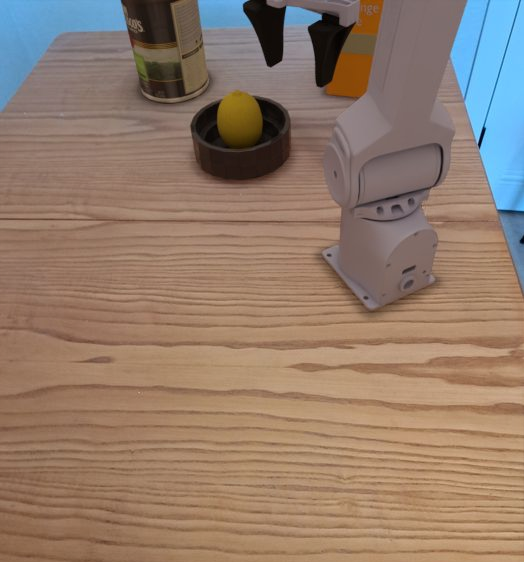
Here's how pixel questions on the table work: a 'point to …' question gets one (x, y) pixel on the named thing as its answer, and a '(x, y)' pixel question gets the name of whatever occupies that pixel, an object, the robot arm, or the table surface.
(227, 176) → the bowl
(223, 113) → the lemon
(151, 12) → the coffee can
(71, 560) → the table surface
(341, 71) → the orange juice
